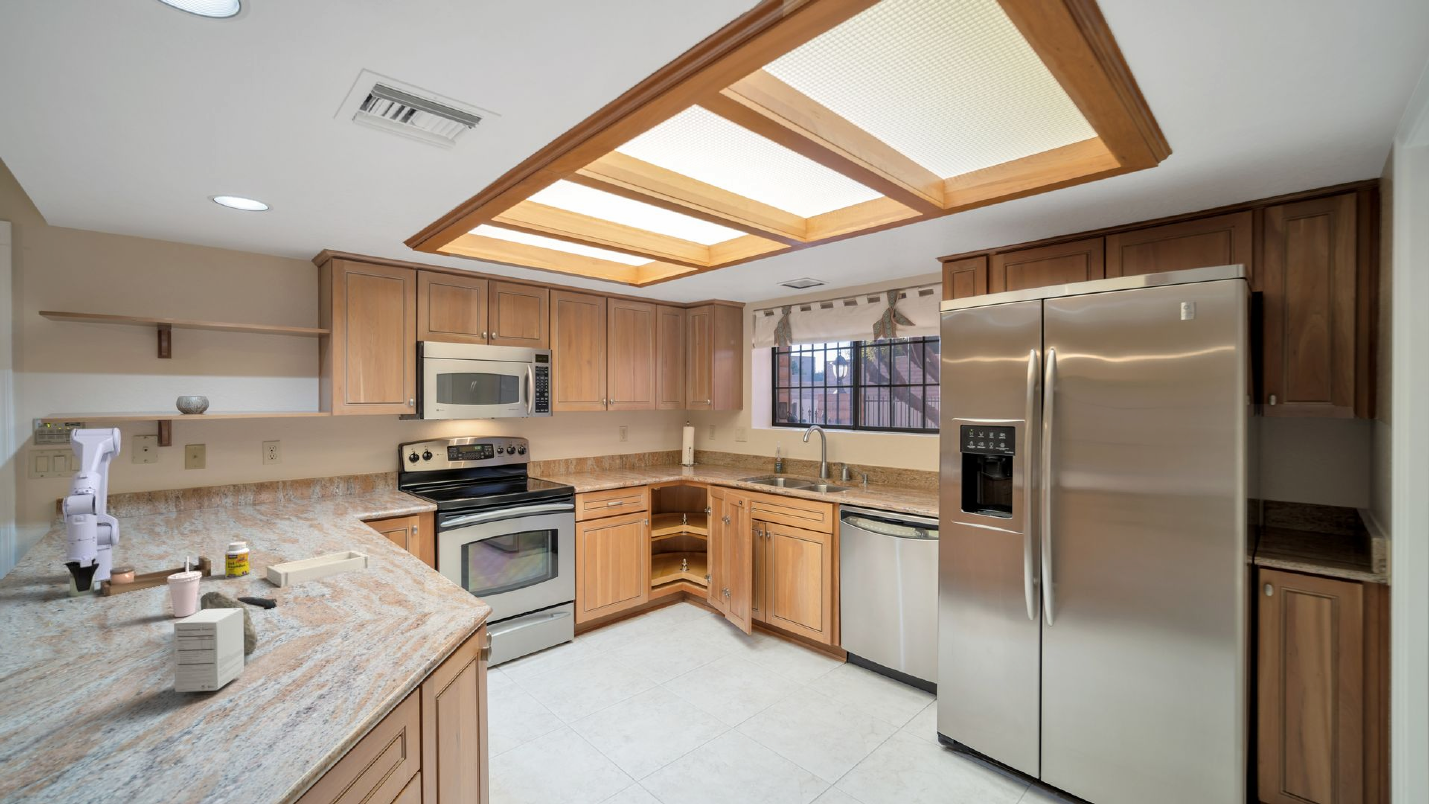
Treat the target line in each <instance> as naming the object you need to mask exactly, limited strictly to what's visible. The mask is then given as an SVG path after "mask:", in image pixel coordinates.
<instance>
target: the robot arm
mask: <svg viewBox="0 0 1429 804" xmlns="http://www.w3.org/2000/svg"><path fill="white" fill-rule="evenodd" d="M121 437H122V436H121V430H120V429H119V428H118V427H114V428H74V429H72V430H71V431H70V435H69V443H70V444H69V445H70V448H71V449H72V452H73V455H75V456H74V457H75V458H76V459H79V461H78V463H79V464H78V472H76V473H74V474H73V475H71V479H70V485H69V490H68V495H67V497H64V498H63V501H62V507H61V508H62V514H63V522H64V525H65V527H66V529H65V530H66V531H65V532H66V533H65V534H66V535H65V536H66V537H65V539H66V540H65V541H66V542H65V543H66V547H65V551H66V552H65V553H66V555H65V556H62V557H59V561H60V562H64V565H65V566H66V567H67V568H68V571H69V572H70V573H72V574H73V577H74V579H75V584H76V588H77V590H78V592H82V591H87V590H89V589H90V587H91V583H92V579H93V576H94V580H95V582H100V581H106V580H110V570H111V569H113V547H114V546H116V545H117V544H118V543H119V539H120V525H119V524H120V522H119V520H118V519H117V518H116V517H114V516H112V515H109V514H108V513H107V506H108V505H107V503H108V502H107V501H108V482H109V466H110V463H111V460H112V459H114V458H117V457H119V456H120V455H119V454H120V453H121V441H122V439H121ZM65 561H66V562H65ZM70 573H69V574H70ZM94 573H95V574H94Z"/></svg>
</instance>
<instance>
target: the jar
mask: <svg viewBox="0 0 1429 804" xmlns="http://www.w3.org/2000/svg"><path fill="white" fill-rule="evenodd" d="M94 574H95V573H94ZM68 578H69V597H70V598H71V597H72V598H75V597H77V598H78V597H83V596H88V595H91V594H94V593H95V588H96V587H95V582H96V581H95V580H94V576H93V579H92V583H91V587H90V589H89V590H87V591H82V592H78V590H77V588H76V584H75V579H74V577H73V574H72V573H69V574H68Z"/></svg>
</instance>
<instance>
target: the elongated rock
mask: <svg viewBox="0 0 1429 804" xmlns="http://www.w3.org/2000/svg"><path fill="white" fill-rule="evenodd" d="M222 608H243V617H244V657H248V656H251V655H252V654H253V653H254V651H255V650H256V648H257V642H258V640H259V639H258V637H257V635H256V626H255V624H254V623H253V621H252V617H251V616H250V611H249V610H247V608H246V607H245V606H244V605H243V602H241V601H238V600H233V599H232V598H229V597H227V595H225V594H221V592H219V591H208V592H206V593H205V594H203V595H201V597H200V611H201V610H203V609H222Z"/></svg>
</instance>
